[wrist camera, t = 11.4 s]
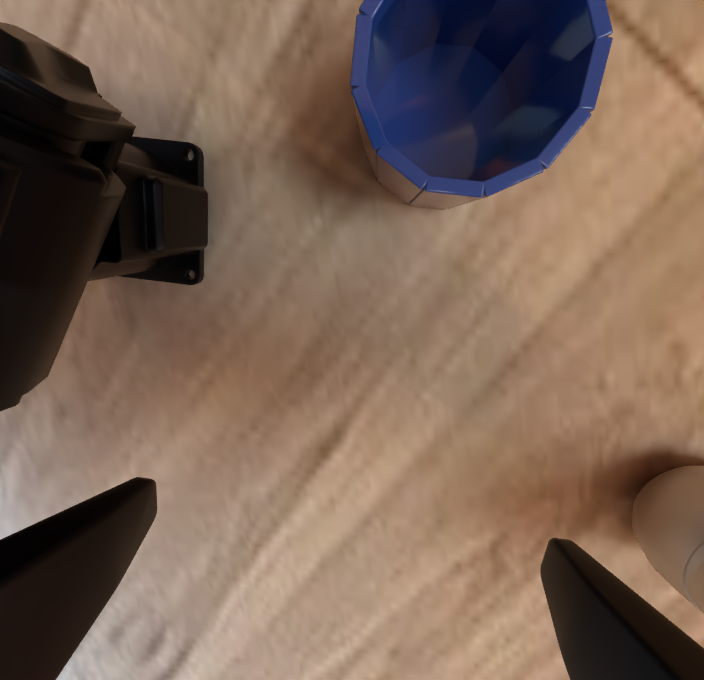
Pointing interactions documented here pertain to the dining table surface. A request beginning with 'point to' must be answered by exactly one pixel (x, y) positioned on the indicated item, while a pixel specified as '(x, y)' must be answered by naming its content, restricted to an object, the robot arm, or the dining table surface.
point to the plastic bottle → (674, 529)
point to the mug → (473, 90)
